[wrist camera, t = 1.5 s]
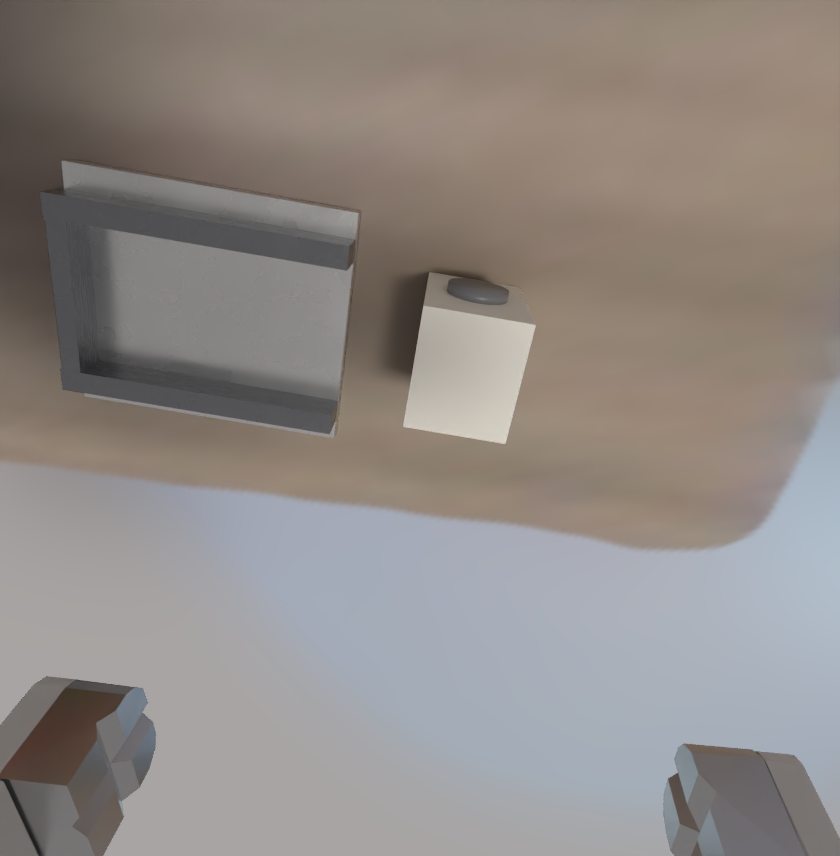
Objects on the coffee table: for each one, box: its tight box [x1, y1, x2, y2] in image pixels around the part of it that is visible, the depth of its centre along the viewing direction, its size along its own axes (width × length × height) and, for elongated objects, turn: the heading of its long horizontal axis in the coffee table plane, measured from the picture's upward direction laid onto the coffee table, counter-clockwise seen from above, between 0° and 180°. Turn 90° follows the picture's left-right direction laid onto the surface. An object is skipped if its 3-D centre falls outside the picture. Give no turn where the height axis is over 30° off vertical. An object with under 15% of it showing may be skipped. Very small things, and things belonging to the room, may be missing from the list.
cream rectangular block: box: [403, 272, 536, 444], centre depth 31 cm, size 5×6×7 cm
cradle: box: [40, 160, 361, 438], centre depth 32 cm, size 15×13×3 cm
